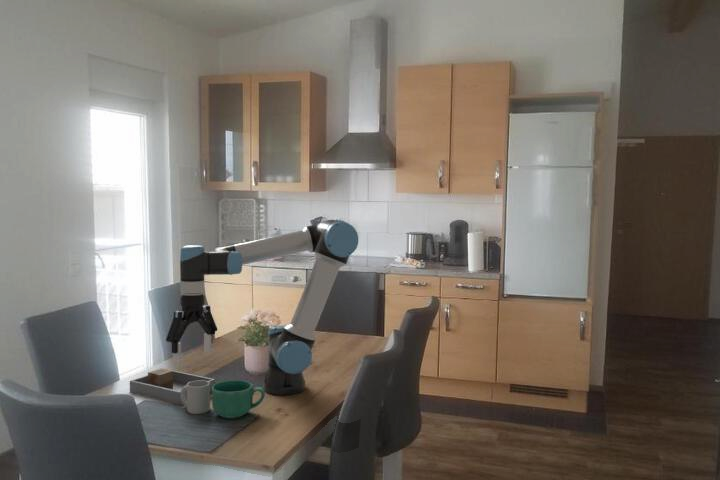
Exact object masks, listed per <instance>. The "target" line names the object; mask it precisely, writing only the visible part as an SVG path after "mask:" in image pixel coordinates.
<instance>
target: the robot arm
mask: <svg viewBox="0 0 720 480" xmlns="http://www.w3.org/2000/svg"><path fill="white" fill-rule="evenodd" d="M358 245H359V234H358V232H357V230H356V228H355V227H354V226H353V225H352V224H350V223H348V222H346V221H343V220H337V219H328V220H324V221H321V222H318V223H316V224H312V225H308V226H307V225H306V226H304V228H302V229H301V230H298V231H292V232H289V233H283V234H279V235H275V236H270V237H265V238H260V239H257V240H252V241H251V240H250V241H247V242H243V243H236V244H234V245H227V246H224V247H223V246H219V247H216V248H214V249H213V250H211V251H206V249H205V247H204V246H203V245H197V244H196V245H193V244H192V245H191V244H190V245H184V246H182V247H181V248H180V254H179V258H180V259H179V265H180V266H179V272H180V273H179V274H180V285H179V287H180V289H179V290H180V293H181V294H180V295H179V296H180V303H179V304H180V306H181V310H180V311H179V310H174V312H173V319H172V321H171V324H170V328H169V329H168V333H167V335H166V338H165V339H166V340H165V341H166V342H168V343H170V344H171V353H172V363H174V364H182V343H181V342H180V340H181V338H182V337H183V335H184V334H185V331H186V329H187V327H188V326H190V324H193V323H198V324H199V325H200V327H201V328H202V329H203V331H204V332H205V333H204V334H203V354H205V355H212V349H213V347H212V344H213V335H216V332H217V331H218V326H217V324H216V322H215V319H214V316H213V314H212V312H211V305H207V304H205V302H206V301H205V294H204V293H205V276H209V275H210V276H211V275H213V276H214V275H215V276H216V275H219V276H220V275H221V276H222V275H224V276H225V275H230V276H232V275H239V274H241V273H242V271H243V266H245V265H249V264H253V263H259V262H262V261H267V260H272V259H275V258H280V257H285V256H291V255H294V254H298V253H299V254H300V253H304V252H309V253H311V254H312V253H314V255H315V258H316V259H315V261H314V264H313V266H312V269H311V271H310V274H309V275H308V279H307V282H306V284H305V286H304V289H303V291H302V293H301V296H300V298H299V302H298V303H297V306H296V308H295V311H294V314H293V317H292V318H291V321H290V323H288V324H285V325H274V326H270V327H269V328H268V334H267V337H268V345H267V346H268V347H267V348H268V357H267V359H268V362H267V363H268V367H267V370H266V374H265V378H264V381H263V387H262V388H263V390H264V392H265V393H268V394H271V395H278V396H279V395H280V396H284V395H294V394H295V395H296V394H299V393H302V392H303V391H305V390H306V380H305V378H304V373H303V372H304V371H306V370H307V369H308V367H309V366H310V365H311V363H312V358H313V351H312V350H313V347H314V345H315V343H316V338H317V337H316V336H315V330H316V328H317V325H318V323H319V321H320V318H321V315H322V313H323V311H324V309H325V305H326V303H327V300H328V298H329V296H330V294H331V293H330V292H331V290H332V288H333V285H334V283H335V281H336V278H337V276H338V273H339V271H340V269H341V268H342V267H344V266H346V265H347V263H348V260H349V258H350V256H351V255H352V254H353V253H355V251H356V250H357V248H358Z"/></svg>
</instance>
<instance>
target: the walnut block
mask: <svg viewBox="0 0 720 480" xmlns="http://www.w3.org/2000/svg"><path fill="white" fill-rule="evenodd" d="M166 369H167V368H166ZM166 369H165V368H158V369H155V370H152V371H148V372H147V375H148V384H150V385H154V386H159V387H163V388H167V389H169V388H172V387H173V371H174V370H173V371H171V370H172V369H168V370H166Z"/></svg>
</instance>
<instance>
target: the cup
mask: <svg viewBox="0 0 720 480" xmlns="http://www.w3.org/2000/svg"><path fill="white" fill-rule="evenodd" d="M186 390H187V399H186ZM181 401H182V403H181V404H183V405H184V406H186V411H187V413H189V414H192V415H200V414H205V413H208V412H209V411H210V408H211V392H210V382H208V381H204V380H197V381H191V382H189V383H187V385H186V386H184V387H183V388H182V390H181Z"/></svg>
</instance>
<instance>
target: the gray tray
mask: <svg viewBox="0 0 720 480" xmlns="http://www.w3.org/2000/svg"><path fill="white" fill-rule="evenodd" d="M166 370H169V369H168V368H166ZM170 370H171V371H173V387H172V388H169V389H167V388H163V387H159V386H154V385H150V384H148V374H147V375H144V376H141V377H137V378H134V379H132V380H129V393H132V394H137V395H141V396H145V397H150V398H154V399H157V400H161V401H167V402H171V403H174V404H178V405H181V404H183V403H182V401H181V390H182V388H183V387H184V386H186V385H187V383H189V382H191V381H197V380H204V381H208V382H210V393H212V387H213V385H215V384H216V379H215V378H210V377H207V376H201V375H196V374H192V373H187V372H182V371H179V370H178V371H177V370H173V369H170ZM186 399H187V390H186Z"/></svg>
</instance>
